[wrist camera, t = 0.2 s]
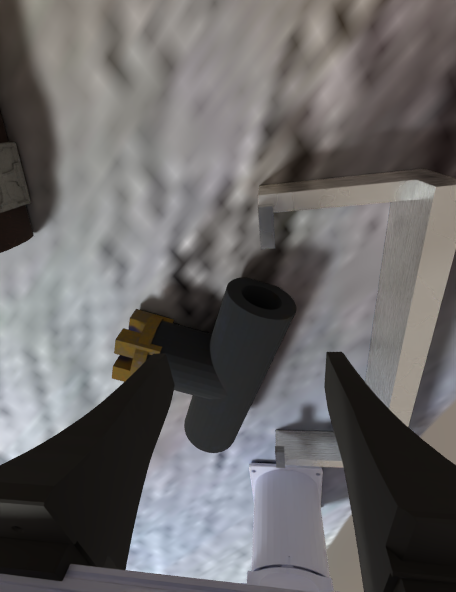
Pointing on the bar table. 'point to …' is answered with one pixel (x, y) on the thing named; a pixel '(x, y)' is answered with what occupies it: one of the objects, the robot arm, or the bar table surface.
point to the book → (12, 196)
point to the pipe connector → (213, 357)
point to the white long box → (381, 284)
